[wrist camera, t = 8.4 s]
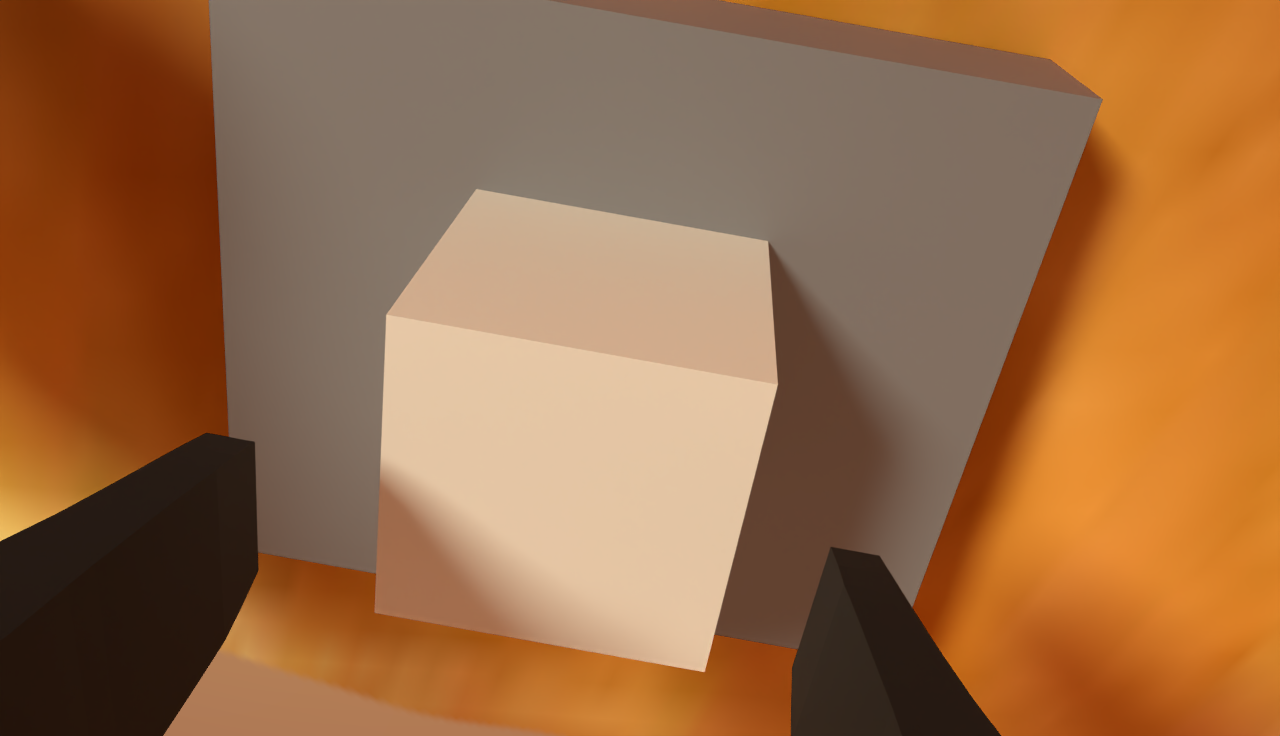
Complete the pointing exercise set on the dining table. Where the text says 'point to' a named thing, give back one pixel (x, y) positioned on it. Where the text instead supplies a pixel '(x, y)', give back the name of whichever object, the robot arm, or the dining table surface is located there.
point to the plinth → (654, 190)
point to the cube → (573, 428)
